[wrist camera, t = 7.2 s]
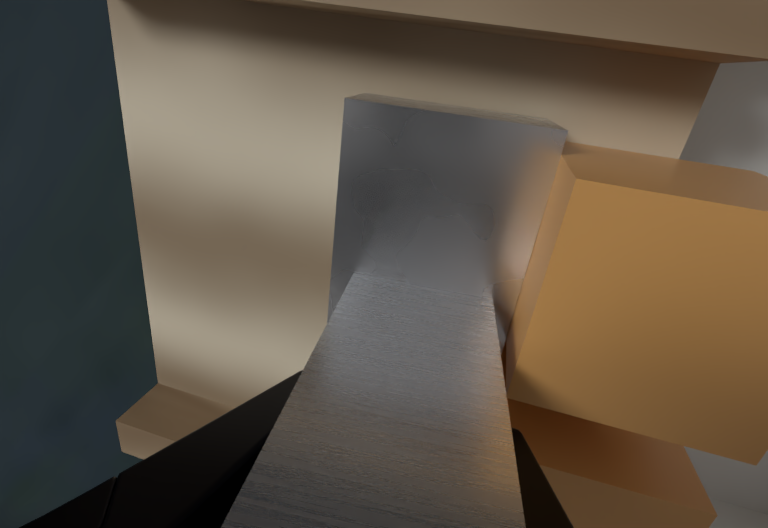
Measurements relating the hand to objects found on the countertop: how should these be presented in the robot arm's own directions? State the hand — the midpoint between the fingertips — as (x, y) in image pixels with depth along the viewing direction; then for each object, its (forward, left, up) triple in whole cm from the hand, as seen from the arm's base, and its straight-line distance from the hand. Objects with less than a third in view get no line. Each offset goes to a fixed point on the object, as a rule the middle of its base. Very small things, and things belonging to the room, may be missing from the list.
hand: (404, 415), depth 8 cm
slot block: (0, +3, -8) cm, 9 cm away
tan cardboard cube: (+3, -4, -4) cm, 6 cm away
